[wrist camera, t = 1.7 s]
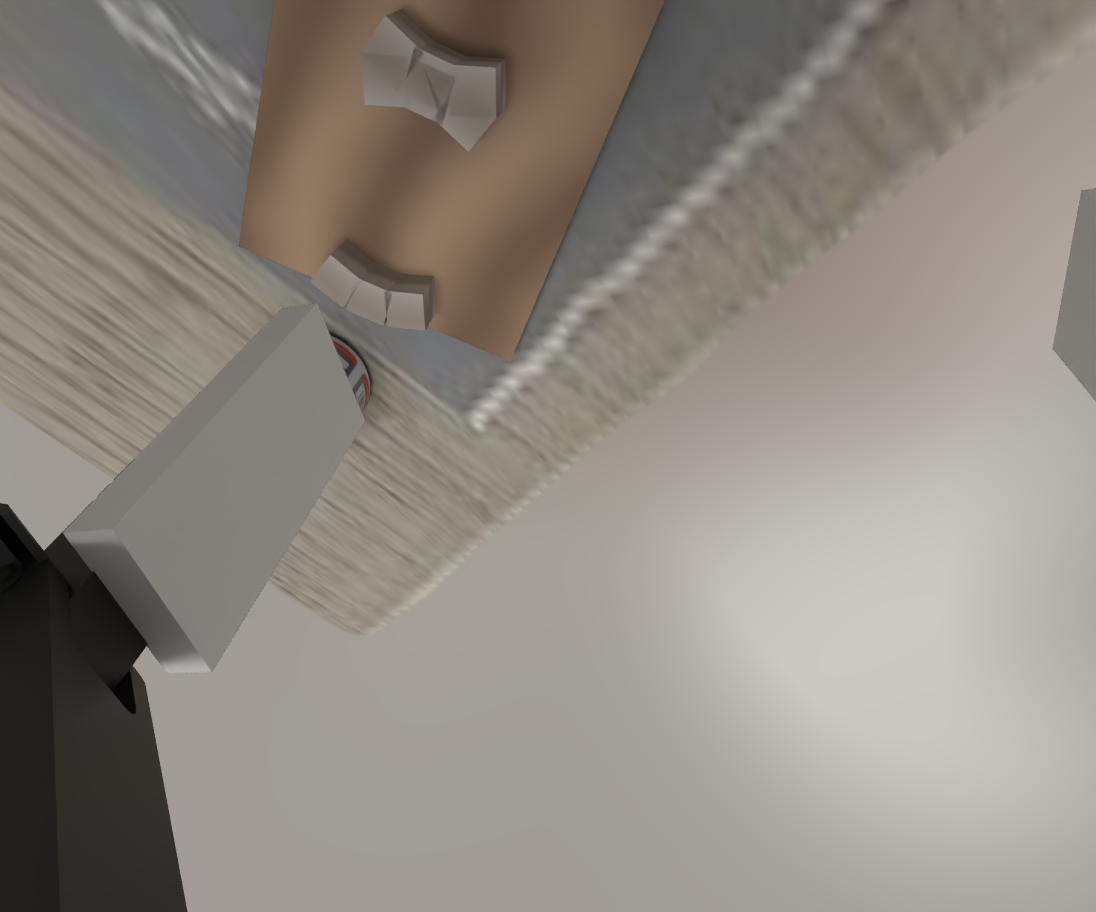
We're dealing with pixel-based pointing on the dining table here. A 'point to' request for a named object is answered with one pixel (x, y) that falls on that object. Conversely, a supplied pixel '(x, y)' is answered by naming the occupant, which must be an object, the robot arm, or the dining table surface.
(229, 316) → the dining table surface
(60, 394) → the dining table surface
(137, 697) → the robot arm
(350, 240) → the board
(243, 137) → the dining table surface
